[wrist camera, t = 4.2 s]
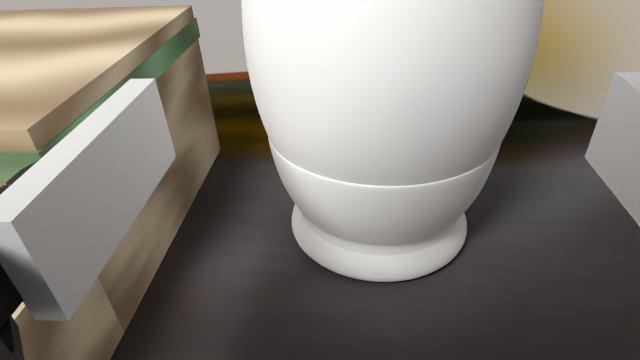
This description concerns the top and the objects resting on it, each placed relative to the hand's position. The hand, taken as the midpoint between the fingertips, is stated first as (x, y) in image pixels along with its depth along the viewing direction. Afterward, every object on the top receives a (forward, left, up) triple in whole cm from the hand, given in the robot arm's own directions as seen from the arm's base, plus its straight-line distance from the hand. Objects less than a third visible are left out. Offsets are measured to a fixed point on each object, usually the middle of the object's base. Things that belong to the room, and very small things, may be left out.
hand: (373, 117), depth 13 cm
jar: (+2, -5, -9) cm, 10 cm away
